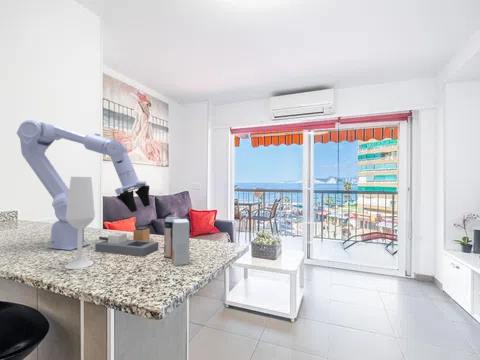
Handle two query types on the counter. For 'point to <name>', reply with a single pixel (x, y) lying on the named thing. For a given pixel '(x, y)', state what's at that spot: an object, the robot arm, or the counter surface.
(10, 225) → the counter surface
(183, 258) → the skincare box
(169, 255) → the beer can
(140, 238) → the orange plug
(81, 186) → the champagne flute
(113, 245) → the socket strip
